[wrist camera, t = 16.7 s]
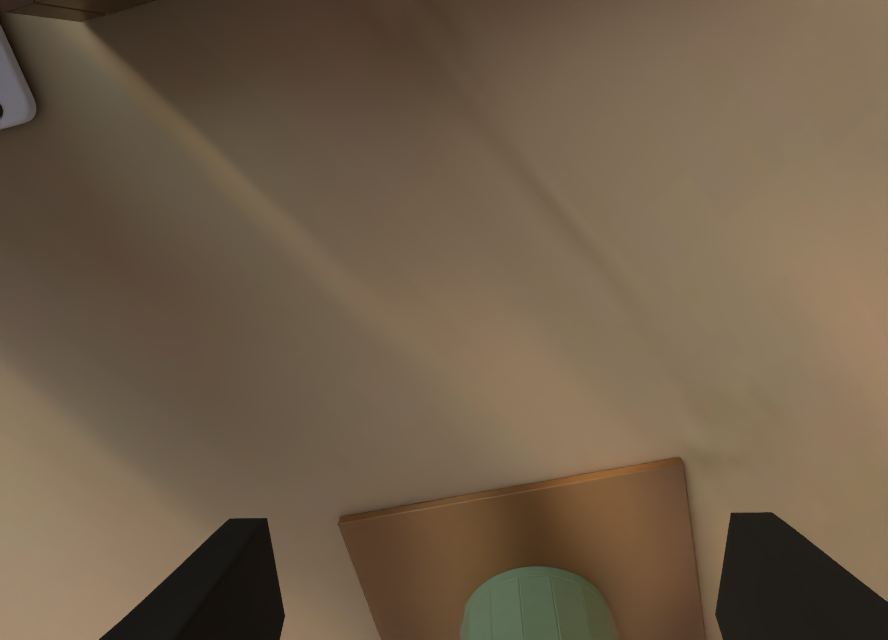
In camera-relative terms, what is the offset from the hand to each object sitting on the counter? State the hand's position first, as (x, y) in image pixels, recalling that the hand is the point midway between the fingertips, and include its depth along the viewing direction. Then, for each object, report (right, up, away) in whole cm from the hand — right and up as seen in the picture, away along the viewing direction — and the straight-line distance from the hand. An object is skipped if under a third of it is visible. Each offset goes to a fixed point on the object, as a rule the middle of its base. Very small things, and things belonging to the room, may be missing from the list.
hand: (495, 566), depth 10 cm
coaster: (+3, -7, +14) cm, 16 cm away
